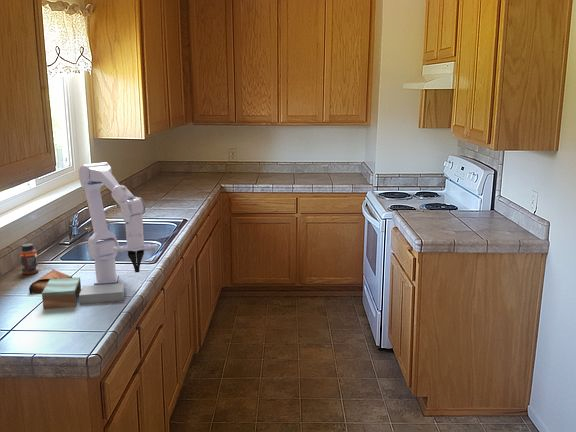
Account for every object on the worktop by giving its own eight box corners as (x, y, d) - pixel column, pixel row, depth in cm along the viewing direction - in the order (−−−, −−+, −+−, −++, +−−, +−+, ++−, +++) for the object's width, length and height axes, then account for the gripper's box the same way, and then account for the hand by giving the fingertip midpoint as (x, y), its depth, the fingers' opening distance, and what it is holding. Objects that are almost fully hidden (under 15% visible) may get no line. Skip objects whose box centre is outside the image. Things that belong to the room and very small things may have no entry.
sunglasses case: (52, 293, 195) (41, 277, 194) (37, 302, 196) (25, 287, 195) (73, 276, 212) (63, 261, 211) (59, 284, 213) (48, 270, 212)
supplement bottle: (42, 271, 218) (39, 243, 216) (29, 275, 213) (26, 247, 210) (31, 269, 221) (28, 241, 218) (18, 273, 216) (15, 245, 213)
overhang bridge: (51, 294, 194) (49, 279, 193) (81, 292, 196) (80, 277, 195) (43, 308, 181) (41, 293, 180) (75, 306, 183) (74, 290, 182)
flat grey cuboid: (83, 294, 194) (82, 285, 194) (124, 290, 197) (124, 282, 197) (79, 303, 186) (79, 295, 185) (123, 300, 189) (122, 291, 188)
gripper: (111, 237, 184) (114, 276, 187) (156, 235, 187) (158, 273, 190) (113, 232, 190) (116, 270, 193) (156, 230, 193) (158, 267, 196)
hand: (137, 271), depth 192 cm, fingers closed
